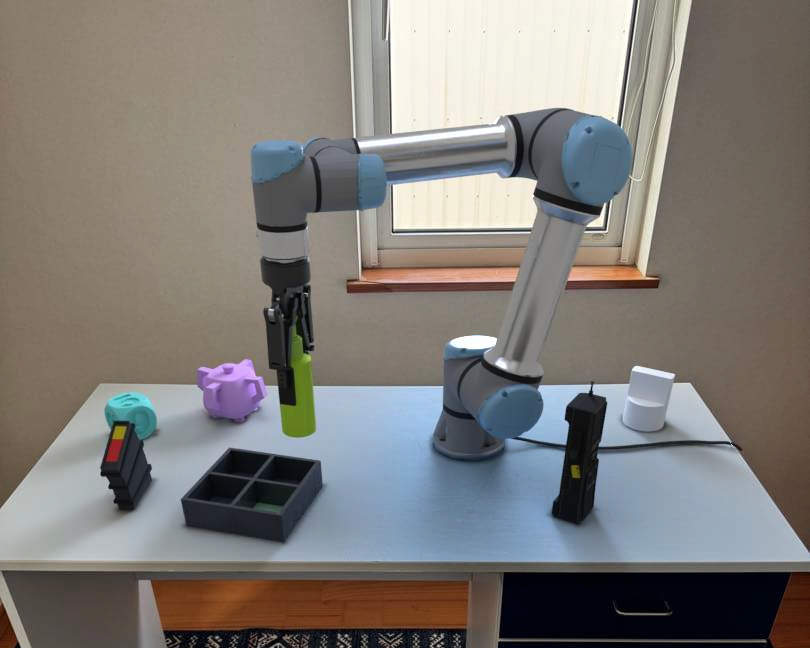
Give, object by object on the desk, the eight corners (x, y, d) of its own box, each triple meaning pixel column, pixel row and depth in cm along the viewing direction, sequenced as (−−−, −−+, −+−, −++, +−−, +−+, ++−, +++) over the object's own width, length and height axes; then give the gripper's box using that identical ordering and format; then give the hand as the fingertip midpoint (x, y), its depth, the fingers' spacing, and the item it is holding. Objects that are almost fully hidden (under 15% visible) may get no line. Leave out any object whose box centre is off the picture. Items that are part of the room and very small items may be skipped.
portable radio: (579, 528, 137) (600, 403, 122) (548, 518, 140) (565, 395, 125) (594, 508, 142) (616, 385, 127) (564, 498, 145) (582, 377, 130)
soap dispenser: (320, 420, 135) (312, 309, 123) (312, 438, 129) (303, 324, 118) (288, 418, 136) (277, 308, 124) (278, 436, 130) (267, 323, 118)
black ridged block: (158, 464, 152) (132, 419, 139) (144, 521, 146) (115, 479, 133) (139, 464, 152) (112, 418, 139) (125, 520, 146) (94, 479, 133)
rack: (322, 485, 149) (320, 460, 145) (284, 542, 134) (281, 515, 130) (233, 472, 153) (229, 447, 150) (186, 525, 138) (180, 499, 135)
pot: (223, 390, 184) (216, 344, 177) (287, 402, 179) (282, 355, 172) (180, 423, 170) (171, 375, 163) (248, 436, 165) (241, 387, 158)
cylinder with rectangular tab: (617, 425, 169) (626, 375, 162) (630, 409, 175) (639, 360, 168) (656, 435, 165) (668, 384, 158) (668, 419, 171) (680, 369, 164)
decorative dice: (141, 421, 171) (134, 388, 166) (160, 433, 166) (153, 400, 162) (109, 433, 166) (100, 400, 162) (127, 445, 162) (118, 412, 157)
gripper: (286, 238, 123) (296, 371, 136) (234, 271, 108) (251, 417, 122) (329, 242, 121) (335, 376, 135) (282, 276, 106) (294, 423, 120)
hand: (295, 395), depth 128 cm, fingers closed on soap dispenser, 6 cm apart
